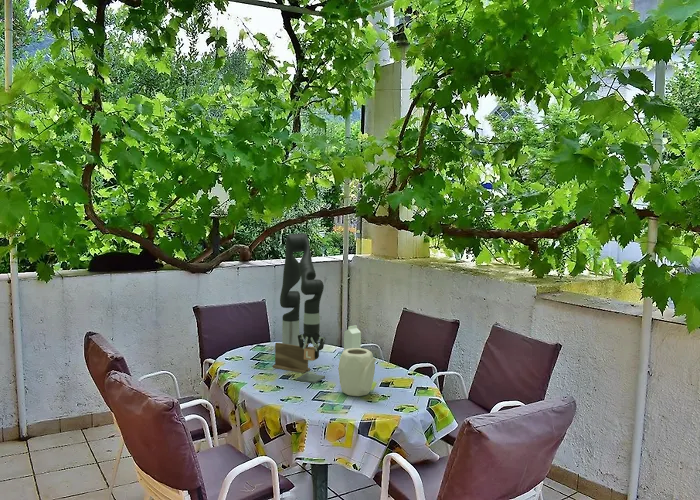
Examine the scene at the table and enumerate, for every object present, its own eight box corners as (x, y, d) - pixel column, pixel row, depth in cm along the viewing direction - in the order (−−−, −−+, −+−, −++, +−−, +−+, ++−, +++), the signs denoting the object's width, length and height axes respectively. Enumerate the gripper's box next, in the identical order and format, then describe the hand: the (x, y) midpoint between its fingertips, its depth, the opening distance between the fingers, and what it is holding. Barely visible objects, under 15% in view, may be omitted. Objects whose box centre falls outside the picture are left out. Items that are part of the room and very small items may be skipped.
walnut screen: (279, 364, 300) (279, 341, 299) (310, 370, 293) (310, 346, 291) (272, 367, 295) (272, 344, 294) (304, 373, 287) (304, 348, 286)
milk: (360, 369, 296) (361, 325, 294) (351, 371, 292) (352, 327, 290) (351, 366, 300) (353, 323, 298) (342, 368, 296) (344, 325, 294)
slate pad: (306, 374, 285) (306, 372, 285) (325, 377, 281) (325, 375, 281) (296, 380, 276) (296, 378, 276) (314, 383, 272) (314, 381, 272)
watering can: (358, 406, 244) (359, 361, 243) (327, 387, 267) (328, 346, 265) (389, 400, 252) (391, 356, 251) (356, 382, 275) (357, 342, 273)
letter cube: (308, 356, 281) (309, 346, 281) (318, 358, 279) (318, 347, 279) (303, 359, 276) (303, 348, 276) (312, 360, 274) (313, 350, 274)
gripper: (329, 322, 277) (328, 358, 278) (302, 319, 283) (301, 353, 284) (321, 325, 270) (320, 361, 271) (294, 321, 276) (293, 357, 278)
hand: (311, 357), depth 278 cm, fingers closed on letter cube, 5 cm apart
